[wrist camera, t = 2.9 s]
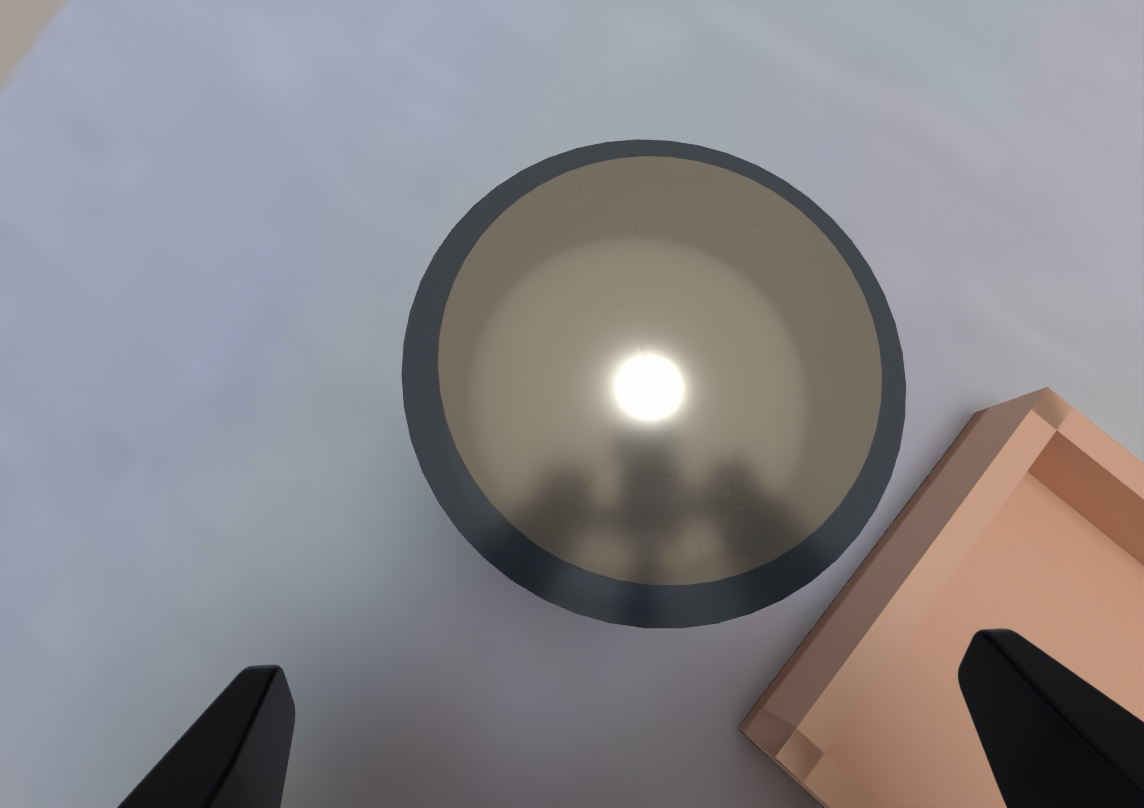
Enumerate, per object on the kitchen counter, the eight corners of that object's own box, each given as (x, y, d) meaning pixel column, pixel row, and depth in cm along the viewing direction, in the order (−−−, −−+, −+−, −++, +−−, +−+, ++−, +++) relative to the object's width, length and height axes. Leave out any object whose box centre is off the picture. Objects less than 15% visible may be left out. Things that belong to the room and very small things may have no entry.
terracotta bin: (1102, 1062, 17) (1217, 1162, 14) (737, 728, 19) (775, 756, 16) (1313, 684, 20) (1448, 704, 17) (976, 412, 21) (1047, 387, 18)
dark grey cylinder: (587, 631, 19) (700, 760, 6) (448, 502, 20) (281, 370, 7) (707, 488, 20) (1019, 341, 7) (572, 370, 21) (633, 37, 8)
